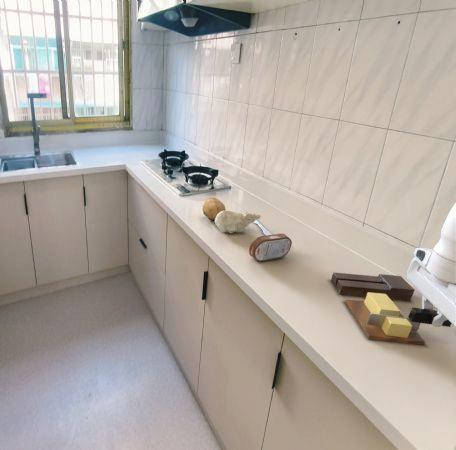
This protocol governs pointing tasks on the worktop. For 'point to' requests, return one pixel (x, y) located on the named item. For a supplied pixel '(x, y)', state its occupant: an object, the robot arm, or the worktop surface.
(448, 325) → the knife
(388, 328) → the butter pat
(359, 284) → the knife stand
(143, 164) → the worktop surface
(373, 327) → the board
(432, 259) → the robot arm
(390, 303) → the butter
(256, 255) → the tin
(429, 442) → the worktop surface
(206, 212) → the potato
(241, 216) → the cream lumpy tapered piece
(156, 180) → the worktop surface
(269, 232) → the butter knife
